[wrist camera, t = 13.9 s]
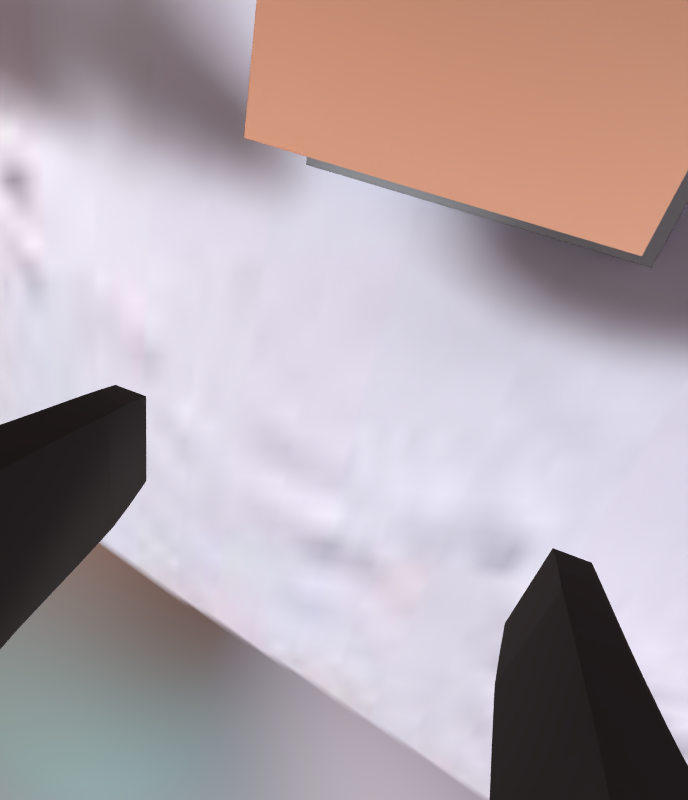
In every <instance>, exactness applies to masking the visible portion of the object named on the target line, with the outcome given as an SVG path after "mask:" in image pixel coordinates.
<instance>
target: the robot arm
mask: <svg viewBox="0 0 688 800" xmlns="http://www.w3.org/2000/svg"><path fill="white" fill-rule="evenodd" d="M145 482H146V396H144V395H141V394H138V393H135V392H133V391H130V390H127V389H125V388H122V387H119V386H117V385H114V386H111V387H107V388H104V389H101V390H98V391H95V392H92V393H89V394H86V395H83V396H80V397H78V398H75V399H72V400H69V401H66V402H63V403H61V404H58V405H55V406H52V407H50V408H47V409H44V410H41V411H38V412H36V413H33V414H30V415H27V416H24V417H21V418H19V419H16V420H13V421H10V422H7V423H4V424H1V425H0V649H1V648H2V647H3V645H4V644H5V643H6V642H7V640H9V639H10V637H11V636H12V635H13V634H14V633H15V632H16V631H17V629H18V628H19V627H20V626H21V625H22V624H23V623H24V622H25V621H26V620H27V619H28V617H30V615H31V614H32V613H33V612H34V611H35V610H36V609H37V608H38V607H39V606H40V605H41V604H42V603H43V602H44V600H46V598H47V597H48V596H49V595H50V594H51V593H52V592H53V591H54V590H55V589H56V588H57V587H58V586H59V585H60V584H61V582H62V581H63V580H64V579H65V578H66V577H67V576H68V575H69V574H70V573H71V572H72V571H73V570H74V569H75V568H76V567H77V566H78V565H79V563H80V562H81V561H82V560H83V559H84V558H85V557H86V556H87V555H88V554H89V553H90V551H92V549H93V548H94V547H95V546H96V545H97V544H98V543H99V542H100V541H101V540H102V539H103V538H104V536H105V535H106V534H107V533H108V532H109V531H110V530H111V529H112V528H113V526H114V525H115V524H116V522H117V521H118V520H119V518H120V517H121V516H122V514H123V513H124V512H125V510H126V509H127V508H128V506H129V505H130V503H131V502H132V501H133V499H134V498H135V496H136V495H137V493H138V492H139V491H140V489H141V488H142V486H143V485H144V483H145ZM490 800H688V765H687V763H686V762H685V760H684V758H683V756H682V754H681V752H680V750H679V748H678V746H677V745H676V743H675V741H674V739H673V737H672V735H671V733H670V731H669V729H668V727H667V725H666V723H665V721H664V719H663V717H662V715H661V713H660V710H659V708H658V706H657V704H656V702H655V700H654V698H653V696H652V694H651V692H650V690H649V688H648V686H647V684H646V682H645V680H644V678H643V675H642V673H641V671H640V669H639V667H638V665H637V663H636V660H635V658H634V656H633V654H632V652H631V650H630V647H629V645H628V643H627V641H626V638H625V636H624V634H623V632H622V630H621V627H620V625H619V623H618V621H617V618H616V616H615V614H614V612H613V609H612V607H611V605H610V602H609V600H608V598H607V596H606V593H605V591H604V589H603V587H602V584H601V582H600V580H599V578H598V576H597V573H596V571H595V569H594V567H593V565H592V563H591V562H588V561H585V560H583V559H580V558H577V557H575V556H572V555H569V554H567V553H564V552H561V551H559V550H556V549H552V550H551V552H550V554H549V555H548V557H547V558H546V560H545V561H544V563H543V565H542V566H541V568H540V569H539V571H538V572H537V574H536V576H535V577H534V579H533V580H532V582H531V583H530V585H529V587H528V588H527V590H526V591H525V593H524V594H523V596H522V598H521V599H520V601H519V602H518V604H517V605H516V607H515V608H514V610H513V612H512V613H511V615H510V616H509V618H508V619H507V621H506V623H505V626H504V632H503V638H502V644H501V649H500V655H499V661H498V668H497V675H496V681H495V693H494V713H493V734H492V758H491V783H490Z"/></svg>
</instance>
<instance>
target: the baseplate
mask: <svg viewBox="0 0 688 800" xmlns="http://www.w3.org/2000/svg"><path fill="white" fill-rule="evenodd" d="M306 165H309V166H313V167H316V168H319V169H323V170H326V171H329V172H333V173H336V174H340V175H343V176H346V177H350V178H353V179H356V180H360V181H363V182H366V183H370V184H373V185H376V186H380V187H383V188H386V189H390V190H393V191H397V192H400V193H403V194H407V195H410V196H413V197H417V198H420V199H423V200H427V201H430V202H433V203H437V204H440V205H444V206H447V207H450V208H454V209H457V210H460V211H464V212H467V213H470V214H474V215H477V216H480V217H484V218H487V219H490V220H494V221H497V222H501V223H504V224H507V225H511V226H514V227H517V228H521V229H524V230H527V231H531V232H534V233H537V234H541V235H544V236H547V237H551V238H554V239H558V240H561V241H564V242H568V243H571V244H574V245H578V246H581V247H584V248H588V249H591V250H594V251H598V252H601V253H604V254H608V255H611V256H615V257H618V258H621V259H625V260H628V261H631V262H635V263H638V264H641V265H645V266H648V267H652V265H653V264H654V262H655V260H656V258H657V256H658V255H659V253H660V251H661V249H662V247H663V245H664V244H665V242H666V240H667V238H668V236H669V235H670V233H671V231H672V229H673V227H674V226H675V224H676V222H677V220H678V218H679V216H680V215H681V213H682V211H683V209H684V207H685V206H686V204H687V202H688V171H687V173H686V175H685V176H684V178H683V180H682V182H681V184H680V186H679V188H678V189H677V191H676V193H675V195H674V197H673V199H672V201H671V203H670V204H669V206H668V208H667V210H666V212H665V214H664V216H663V217H662V219H661V221H660V223H659V225H658V227H657V229H656V231H655V232H654V234H653V236H652V238H651V240H650V242H649V244H648V245H647V247H646V249H645V251H644V253H643V255H642V256H639V255H636V254H632V253H629V252H626V251H622V250H619V249H616V248H612V247H609V246H605V245H602V244H599V243H595V242H592V241H589V240H585V239H582V238H579V237H575V236H572V235H569V234H565V233H562V232H558V231H555V230H552V229H548V228H545V227H542V226H538V225H535V224H532V223H528V222H525V221H521V220H518V219H515V218H511V217H508V216H505V215H501V214H498V213H495V212H491V211H488V210H485V209H481V208H478V207H474V206H471V205H468V204H464V203H461V202H458V201H454V200H451V199H448V198H444V197H441V196H438V195H434V194H431V193H427V192H424V191H421V190H417V189H414V188H411V187H407V186H404V185H401V184H397V183H394V182H391V181H387V180H384V179H380V178H377V177H374V176H370V175H367V174H364V173H360V172H357V171H354V170H350V169H347V168H344V167H340V166H337V165H333V164H330V163H327V162H323V161H320V160H317V159H313V158H310V157H307V162H306Z"/></svg>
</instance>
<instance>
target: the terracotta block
mask: <svg viewBox="0 0 688 800" xmlns="http://www.w3.org/2000/svg"><path fill="white" fill-rule="evenodd" d="M244 138H246V139H250V140H253V141H256V142H260V143H263V144H266V145H270V146H273V147H276V148H280V149H283V150H286V151H290V152H293V153H297V154H300V155H303V156H307V157H310V158H313V159H317V160H320V161H323V162H327V163H330V164H333V165H337V166H340V167H344V168H347V169H350V170H354V171H357V172H360V173H364V174H367V175H370V176H374V177H377V178H380V179H384V180H387V181H391V182H394V183H397V184H401V185H404V186H407V187H411V188H414V189H417V190H421V191H424V192H427V193H431V194H434V195H438V196H441V197H444V198H448V199H451V200H454V201H458V202H461V203H464V204H468V205H471V206H474V207H478V208H481V209H485V210H488V211H491V212H495V213H498V214H501V215H505V216H508V217H511V218H515V219H518V220H521V221H525V222H528V223H532V224H535V225H538V226H542V227H545V228H548V229H552V230H555V231H558V232H562V233H565V234H569V235H572V236H575V237H579V238H582V239H585V240H589V241H592V242H595V243H599V244H602V245H605V246H609V247H612V248H616V249H619V250H622V251H626V252H629V253H632V254H636V255H639V256H642V255H643V253H644V251H645V249H646V247H647V245H648V244H649V242H650V240H651V238H652V236H653V234H654V232H655V231H656V229H657V227H658V225H659V223H660V221H661V219H662V217H663V216H664V214H665V212H666V210H667V208H668V206H669V204H670V203H671V201H672V199H673V197H674V195H675V193H676V191H677V189H678V188H679V186H680V184H681V182H682V180H683V178H684V176H685V175H686V173H687V171H688V0H257V3H256V13H255V24H254V35H253V46H252V57H251V68H250V79H249V90H248V100H247V111H246V122H245V133H244Z"/></svg>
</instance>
